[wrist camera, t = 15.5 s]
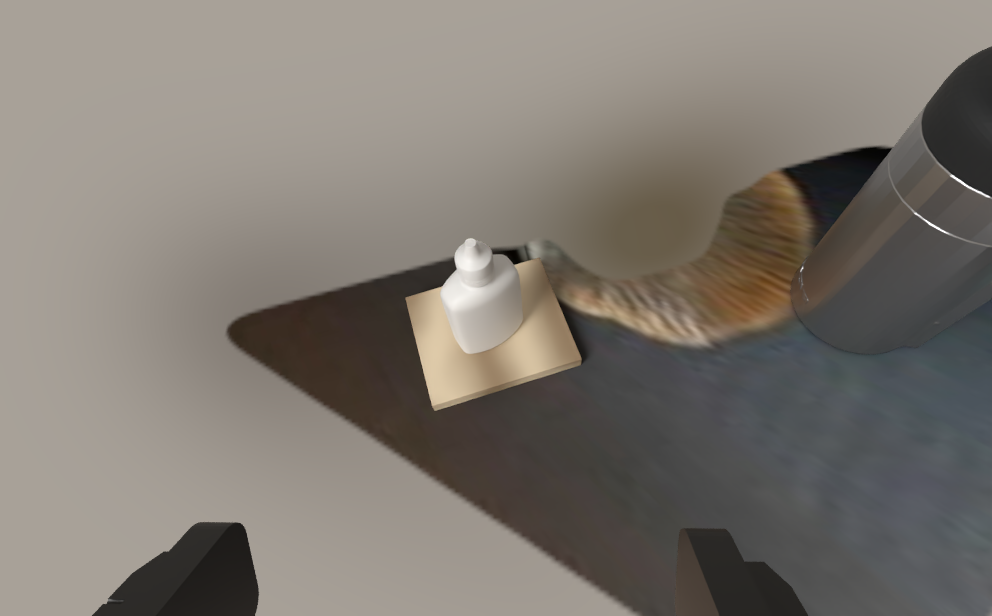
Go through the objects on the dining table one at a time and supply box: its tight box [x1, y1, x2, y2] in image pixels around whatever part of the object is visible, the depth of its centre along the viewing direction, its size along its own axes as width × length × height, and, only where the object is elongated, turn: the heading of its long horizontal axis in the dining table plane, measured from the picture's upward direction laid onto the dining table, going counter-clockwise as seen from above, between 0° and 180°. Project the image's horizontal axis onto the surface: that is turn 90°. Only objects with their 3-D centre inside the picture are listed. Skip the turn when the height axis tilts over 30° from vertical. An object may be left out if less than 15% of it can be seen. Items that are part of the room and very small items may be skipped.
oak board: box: [406, 258, 582, 411], centre depth 43 cm, size 12×10×1 cm
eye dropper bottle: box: [440, 238, 523, 354], centre depth 37 cm, size 4×6×12 cm
